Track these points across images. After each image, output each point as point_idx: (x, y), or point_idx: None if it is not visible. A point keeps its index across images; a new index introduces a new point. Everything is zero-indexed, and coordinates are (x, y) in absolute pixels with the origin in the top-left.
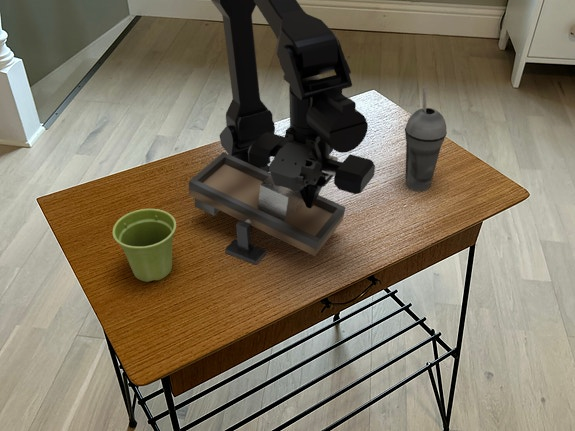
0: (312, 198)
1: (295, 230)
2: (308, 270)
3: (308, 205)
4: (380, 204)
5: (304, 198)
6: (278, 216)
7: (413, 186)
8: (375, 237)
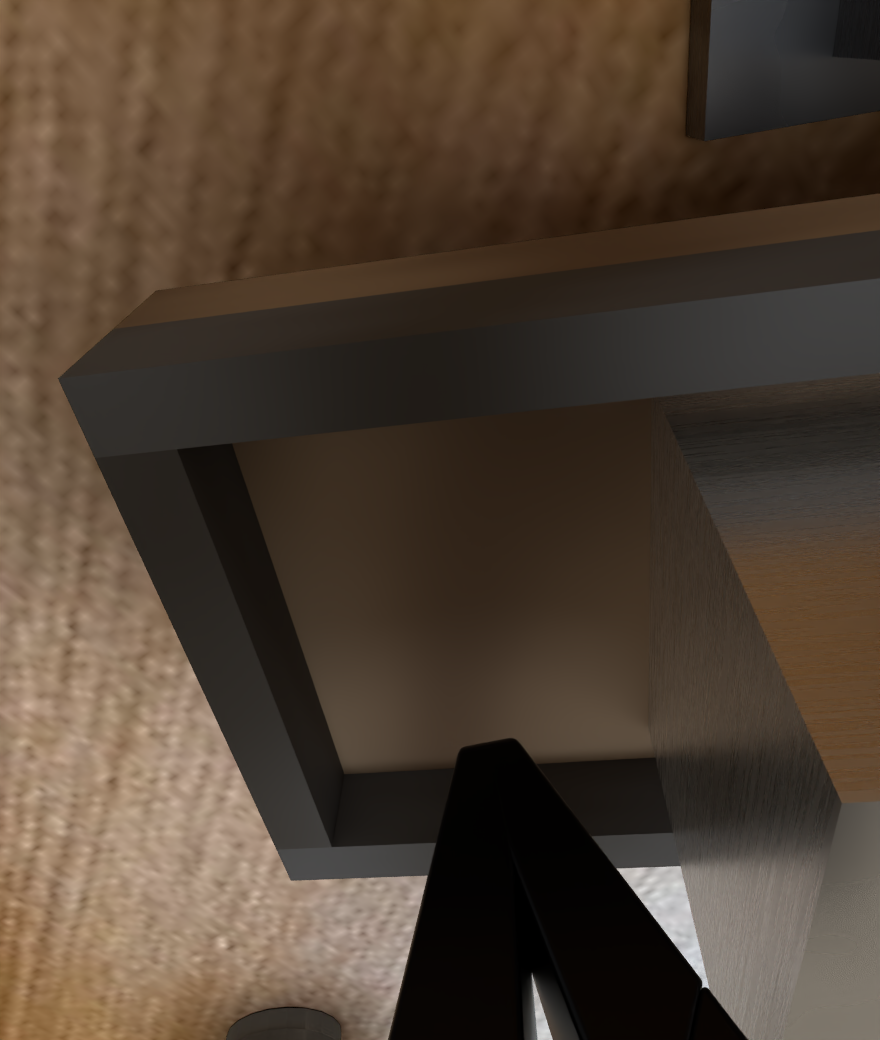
0: (420, 958)
1: (429, 361)
2: (236, 205)
3: (490, 779)
4: (325, 896)
5: (570, 871)
6: (789, 427)
7: (269, 1035)
8: (146, 738)
